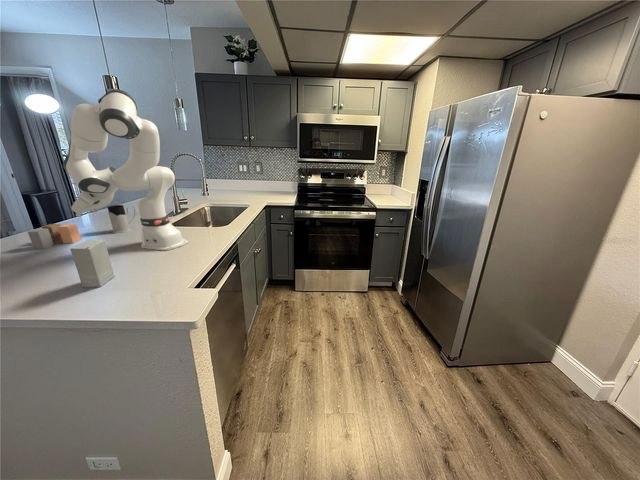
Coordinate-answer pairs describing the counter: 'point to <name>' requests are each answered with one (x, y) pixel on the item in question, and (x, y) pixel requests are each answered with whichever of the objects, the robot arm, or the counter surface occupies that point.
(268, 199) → the counter surface
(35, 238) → the grey block
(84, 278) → the skincare box
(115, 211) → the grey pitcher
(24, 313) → the counter surface
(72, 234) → the terracotta block
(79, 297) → the counter surface
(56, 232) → the walnut block
